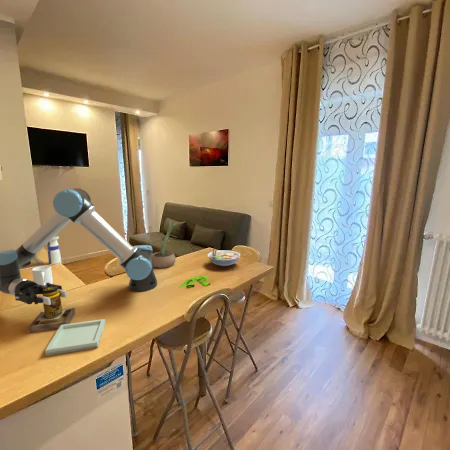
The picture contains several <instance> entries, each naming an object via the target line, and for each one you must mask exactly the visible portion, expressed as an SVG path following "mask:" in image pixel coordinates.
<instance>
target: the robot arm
mask: <svg viewBox="0 0 450 450" xmlns="http://www.w3.org/2000/svg"><path fill="white" fill-rule="evenodd" d="M52 204H53V209H54V210H55V212H54V213H52V214H51V216H50V217H49V218H47V220H46V221H45V222H43V224H42V225H41V226H40V227H39V228H37V230H36V231H34V232H33V233H32V234H31V235H30V236H29V237H28V238H27V239H26V240H25V241H23V243H22V244H21V245H20V246H19V247H18V248H17V249H16V250H15V249H7V250H2V251H0V292H1V293H3V294H8V295H11V296H14V299H15V301H17V302H18V301H20V302H22V303H25V304H27V305H32V304H33V303H34V305H38V304H42V305H43V304H47V305H51V301H50V298H48V297H45V296H43V292H42V291H43V289H44V288H46V287H50V286H57V287H58V292H59V293H60V298H65V299H66V298H68V291H66V290H64V289H63V288H62V287H63V286H62V285H59V284H54V283H53V284H50V283H46V284H45V285H44V286H42V285H38V284H37V283H35V282H34V280H29V279H26V278H22V277H21V270H20V268H21V266H23V265H26V264H27V263H29V262H31V261H32V260H33V259H34V258H35V257H36V255H37V254H38V252H40V251H41V250H42V249H43V248H44V247H45V246H46V245H48V242H49V241H50V240H51V239H52V238H53V237H54V236H57V235H58V234H59V233H60V231H62V230H63V229H64V228H65V227H66V226H67V225H68V224H69V223H70V222H71V221H72V223H73V224H79V225H81V226H82V227H83V228H84V229H85V230H86V231H88V232H89V233H90V234H91V235H92V236H93V238H95V239H96V240H97V241H98V242H100V243H101V244H102V245H103V246H104V247H105V248H106V249H107V250H108V251H109V252H110V253H111V254H112V255H114V257H116V258H117V259H118V262H119V263H118V265H120V266H121V268H123V269H125V274H126V275H127V277H128V278H129V282H128V289H129V290H131V291H133V292H147V291H149V290H152V289H155V288H156V287H157V286H158V279H157V277H156V274H155V272H154V266H153V254H154V253H153V252H154V251H153V246H152V245H149V244H142V245H141V244H140V245H134V246H133V245H131V244H130V243H129V241H128V240H126V239H125V238H124V237H123V236H122V235H121V234H120V233H119V232H118V231H117V230H116V229H115V228H114V227H113V226H111V225H110V223H108V222H107V220H105V219H104V218H103V217H102V216H101V215H100V214H99V213H98V212H97V211H96V208H95V205H94V204H93V203H92V198H91V196H90V194H89V193H88V192H87V191H85V189H82V188H78V187H77V188H65V189H62V190H60V191H58V192H57V193H55V196H54V198H53V200H52Z"/></svg>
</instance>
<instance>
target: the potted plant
mask: <svg viewBox="0 0 450 450" xmlns="http://www.w3.org/2000/svg"><path fill="white" fill-rule="evenodd" d="M168 222H169V223H168V227H167V230H166V231H167V232H166V235H165V236H163V237H161V240H160V249H159V251H157V252H154V253H152V254H153V268H156V267H158V268H157V269H166V268H165V267H167V268H170V267H172V266H174V265H175V263H176V256H175V254H174V253H173V252H172V251H166V245H167V242H170V237H174V238H175V239H176V238H177V239H178V237H177V236H176V235H173V234H171V233H172V230H173V228H174V227H175V226H176V228H178V230H179V231H181V228H179V227H177V223H176V222H175V223H173V224H172V221H171V220H169V221H168Z"/></svg>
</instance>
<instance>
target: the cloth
mask: <svg viewBox="0 0 450 450" xmlns="http://www.w3.org/2000/svg"><path fill="white" fill-rule="evenodd" d="M208 280H210V278H209V277H208V276H206V275H199V276H198V275H197V276H193V277H190V278H187V279H186V280H184V281H183V282H182V283H181V284H180V285H179V288H180V289H181V288H184V287H185V286H186V289H188V288H195V284H194V282H198V283H199V284H200V285H201V286H202V287H208V286H209V285H211V282H209V281H208Z"/></svg>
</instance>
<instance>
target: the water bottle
mask: <svg viewBox="0 0 450 450" xmlns="http://www.w3.org/2000/svg"><path fill="white" fill-rule="evenodd" d="M58 239H60V237H59V236H58V235H55V236H54V237H53V238H52V239H51V240H50V241H49V242H48V243H47V244H46V245H47V246H46V247H47V259H48V265H49V264H54V263H59V262H60V264H61V263H62V257H61V250H60V248H59V245H60V244H59V242H58Z"/></svg>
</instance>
